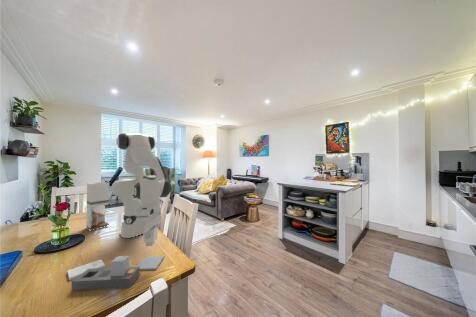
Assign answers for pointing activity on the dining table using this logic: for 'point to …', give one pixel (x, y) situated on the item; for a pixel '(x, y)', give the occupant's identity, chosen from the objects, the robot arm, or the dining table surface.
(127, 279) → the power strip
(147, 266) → the rubber mat
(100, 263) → the external hard drive
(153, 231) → the block
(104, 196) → the small white stand
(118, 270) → the block
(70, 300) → the dining table surface
